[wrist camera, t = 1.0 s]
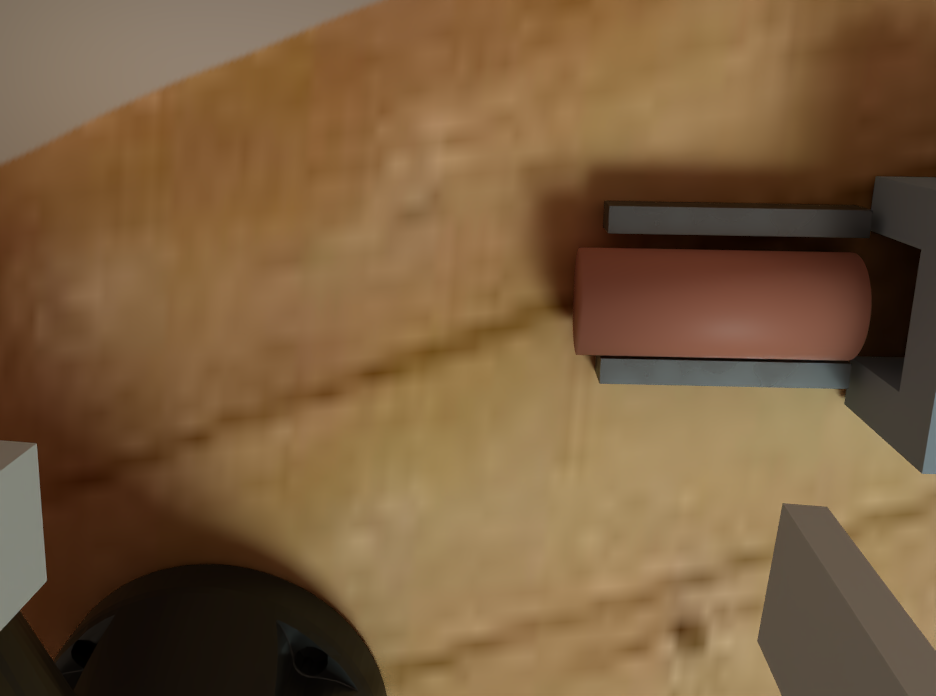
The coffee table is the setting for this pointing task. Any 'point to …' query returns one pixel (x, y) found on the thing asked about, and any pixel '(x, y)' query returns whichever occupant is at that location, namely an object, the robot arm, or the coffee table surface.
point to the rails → (733, 223)
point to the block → (929, 339)
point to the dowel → (720, 303)
